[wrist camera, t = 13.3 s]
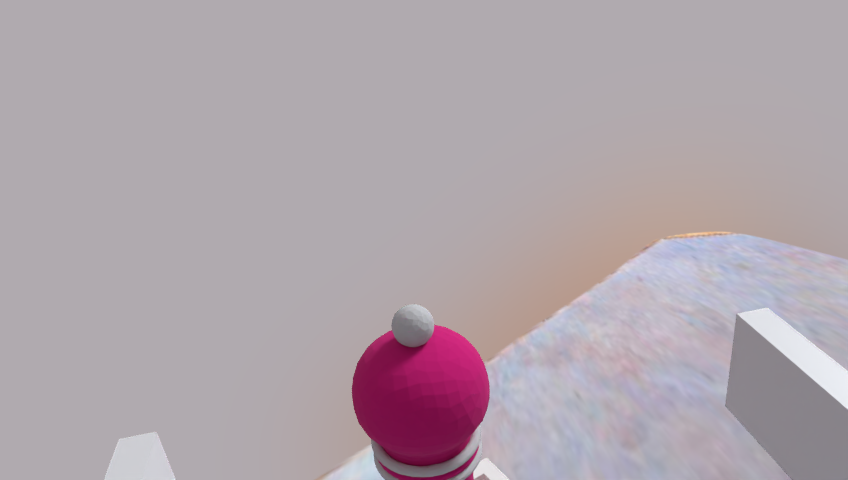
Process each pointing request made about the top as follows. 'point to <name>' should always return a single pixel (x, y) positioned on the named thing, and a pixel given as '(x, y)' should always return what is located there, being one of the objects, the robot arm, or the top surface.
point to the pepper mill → (422, 400)
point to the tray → (488, 471)
